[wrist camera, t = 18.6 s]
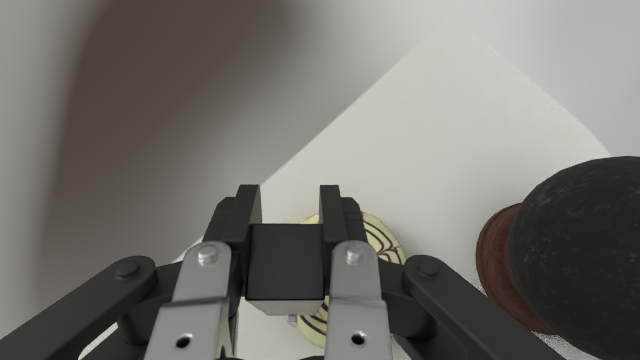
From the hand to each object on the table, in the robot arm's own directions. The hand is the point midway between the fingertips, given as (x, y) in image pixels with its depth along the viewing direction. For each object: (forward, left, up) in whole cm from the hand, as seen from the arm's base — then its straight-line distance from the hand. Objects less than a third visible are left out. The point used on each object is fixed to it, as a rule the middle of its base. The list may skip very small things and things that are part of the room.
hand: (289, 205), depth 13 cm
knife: (+3, -3, -13) cm, 14 cm away
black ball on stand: (+17, +13, -17) cm, 27 cm away
